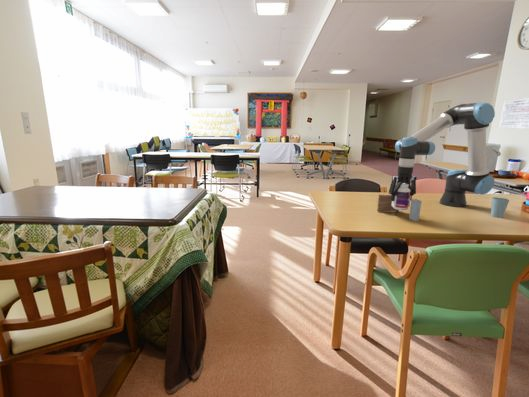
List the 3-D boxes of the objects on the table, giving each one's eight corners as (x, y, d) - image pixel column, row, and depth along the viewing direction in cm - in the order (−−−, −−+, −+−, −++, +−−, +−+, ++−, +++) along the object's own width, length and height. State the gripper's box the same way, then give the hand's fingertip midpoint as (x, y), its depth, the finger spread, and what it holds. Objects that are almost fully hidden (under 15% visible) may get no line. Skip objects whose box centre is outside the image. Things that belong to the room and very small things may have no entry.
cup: (506, 216, 170) (510, 199, 167) (504, 219, 164) (508, 201, 162) (490, 213, 175) (493, 196, 172) (487, 216, 170) (491, 198, 167)
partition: (396, 210, 177) (398, 192, 175) (418, 220, 158) (421, 201, 156) (391, 210, 177) (393, 192, 174) (413, 220, 158) (416, 201, 155)
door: (398, 212, 173) (401, 195, 171) (377, 211, 174) (379, 195, 171) (397, 211, 175) (399, 194, 173) (376, 210, 176) (378, 194, 174)
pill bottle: (409, 211, 161) (413, 185, 158) (394, 210, 163) (397, 184, 159) (405, 207, 169) (409, 183, 165) (390, 206, 170) (394, 182, 167)
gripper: (418, 165, 165) (412, 204, 171) (384, 165, 162) (379, 205, 167) (427, 167, 158) (421, 207, 164) (392, 167, 155) (387, 208, 160)
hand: (400, 206), depth 165 cm, fingers closed on pill bottle, 8 cm apart
